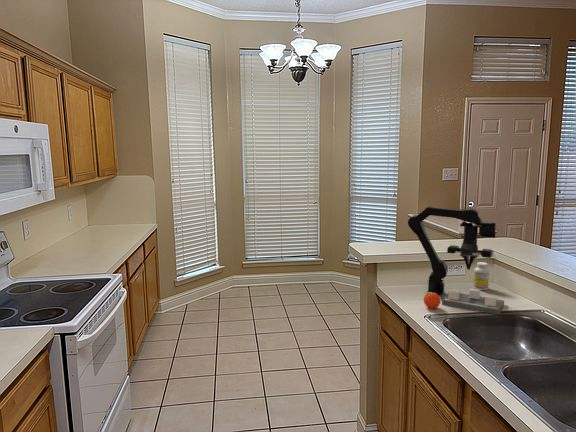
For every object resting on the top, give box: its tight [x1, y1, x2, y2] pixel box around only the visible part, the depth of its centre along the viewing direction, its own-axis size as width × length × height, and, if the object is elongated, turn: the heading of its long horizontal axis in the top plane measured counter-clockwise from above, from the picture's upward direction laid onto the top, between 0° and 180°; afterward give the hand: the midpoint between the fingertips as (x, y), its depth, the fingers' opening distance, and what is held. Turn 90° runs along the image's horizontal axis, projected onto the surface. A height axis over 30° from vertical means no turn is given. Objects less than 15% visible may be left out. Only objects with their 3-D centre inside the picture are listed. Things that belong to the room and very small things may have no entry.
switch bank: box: [441, 292, 505, 316], centre depth 191 cm, size 23×14×2 cm, turn 56°
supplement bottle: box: [473, 261, 490, 291], centre depth 212 cm, size 7×7×13 cm
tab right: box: [484, 294, 498, 307], centre depth 184 cm, size 4×3×4 cm
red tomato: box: [421, 291, 441, 310], centre depth 187 cm, size 8×7×7 cm
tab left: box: [448, 288, 461, 300], centre depth 192 cm, size 4×3×4 cm
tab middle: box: [468, 287, 482, 299], centre depth 193 cm, size 4×3×4 cm
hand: (468, 269), depth 200 cm, fingers closed
